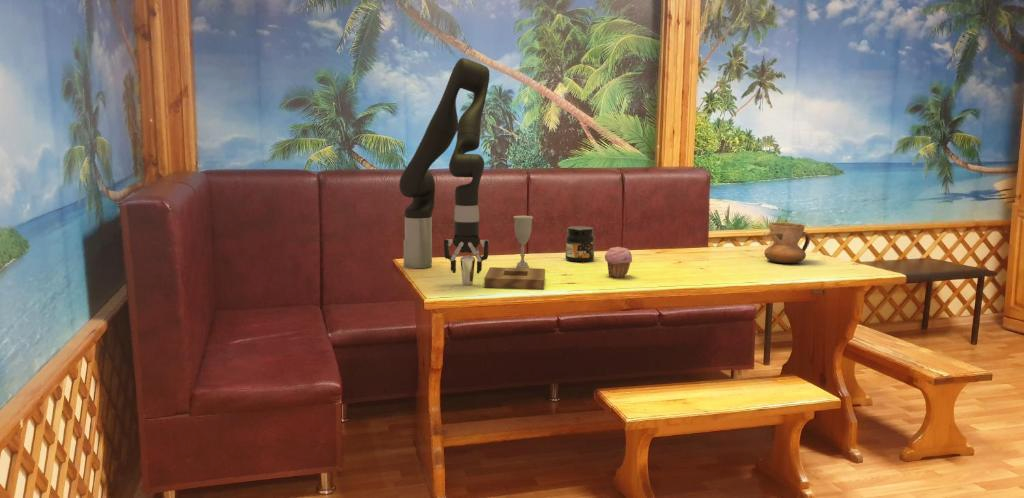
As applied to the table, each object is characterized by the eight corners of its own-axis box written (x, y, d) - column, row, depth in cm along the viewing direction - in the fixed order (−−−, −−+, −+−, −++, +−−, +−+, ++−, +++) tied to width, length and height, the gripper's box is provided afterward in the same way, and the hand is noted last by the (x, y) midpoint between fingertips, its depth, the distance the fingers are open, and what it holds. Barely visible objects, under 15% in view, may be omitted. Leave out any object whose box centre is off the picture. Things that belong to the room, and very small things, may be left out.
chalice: (530, 271, 270) (531, 218, 267) (510, 270, 271) (511, 217, 268) (534, 267, 277) (534, 216, 274) (514, 266, 278) (515, 215, 275)
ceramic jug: (771, 266, 286) (774, 226, 284) (754, 258, 300) (756, 221, 298) (818, 265, 289) (821, 226, 286) (799, 258, 303) (802, 221, 300)
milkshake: (457, 283, 249) (457, 251, 247) (474, 283, 250) (474, 251, 248) (457, 286, 245) (457, 254, 243) (475, 286, 245) (475, 254, 243)
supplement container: (564, 262, 288) (565, 229, 286) (566, 257, 298) (566, 225, 296) (593, 263, 286) (594, 230, 284) (594, 258, 297) (595, 226, 295)
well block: (484, 287, 243) (484, 278, 242) (489, 276, 261) (489, 267, 260) (543, 289, 242) (543, 279, 241) (544, 277, 259) (544, 268, 259)
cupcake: (599, 275, 265) (600, 245, 263) (620, 273, 269) (621, 244, 267) (615, 280, 257) (616, 249, 255) (636, 278, 261) (638, 247, 260)
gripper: (441, 220, 241) (441, 274, 243) (488, 221, 240) (488, 275, 242) (445, 217, 248) (445, 269, 251) (491, 218, 247) (490, 271, 250)
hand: (466, 272), depth 246 cm, fingers open, 7 cm apart
